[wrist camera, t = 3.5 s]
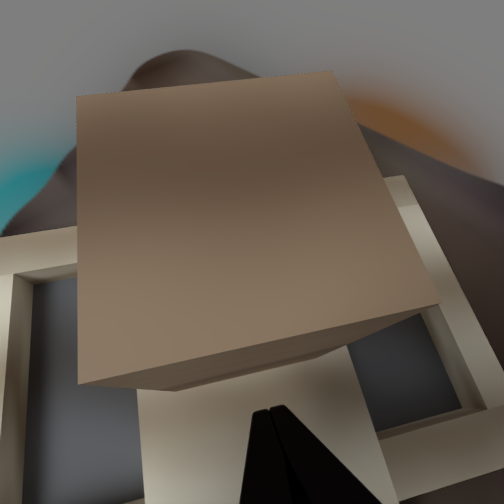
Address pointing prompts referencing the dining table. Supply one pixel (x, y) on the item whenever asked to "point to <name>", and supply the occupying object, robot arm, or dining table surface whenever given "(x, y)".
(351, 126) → the walnut block
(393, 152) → the dining table surface
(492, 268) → the dining table surface
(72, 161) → the dining table surface
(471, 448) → the board
